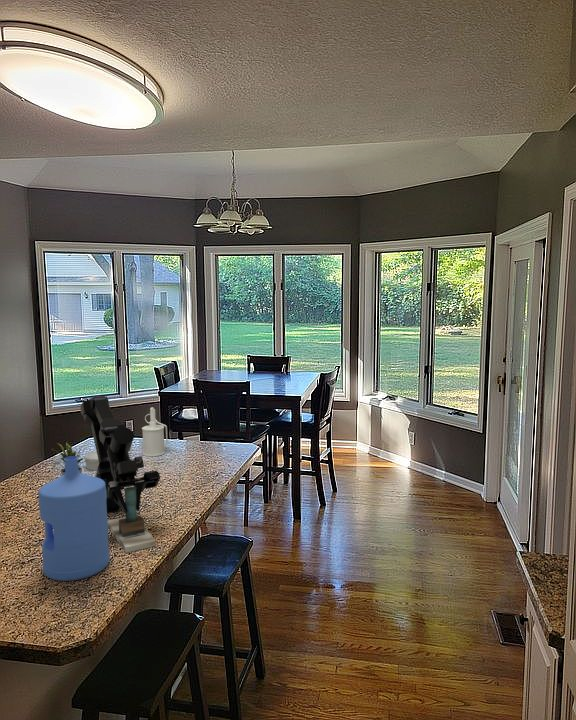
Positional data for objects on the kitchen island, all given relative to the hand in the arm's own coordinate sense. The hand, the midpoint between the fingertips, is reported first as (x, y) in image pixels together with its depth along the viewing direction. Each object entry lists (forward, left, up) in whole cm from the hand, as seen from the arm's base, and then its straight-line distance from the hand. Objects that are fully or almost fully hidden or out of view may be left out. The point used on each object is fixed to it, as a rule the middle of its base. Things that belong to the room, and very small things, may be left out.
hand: (132, 511), depth 154 cm
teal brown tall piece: (-1, +1, -6) cm, 7 cm away
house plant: (-36, +42, -8) cm, 56 cm away
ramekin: (-33, +64, -8) cm, 73 cm away
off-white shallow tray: (-2, +3, -8) cm, 9 cm away
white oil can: (-16, +83, -8) cm, 85 cm away
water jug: (-9, -16, -8) cm, 20 cm away
